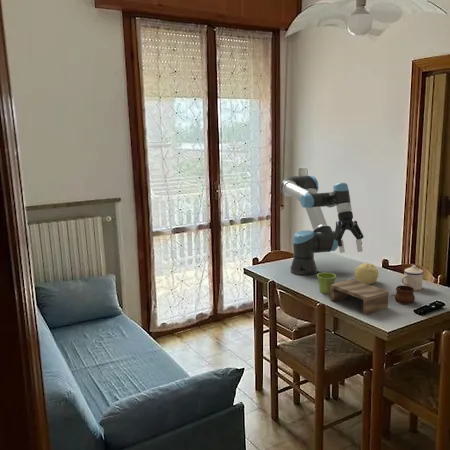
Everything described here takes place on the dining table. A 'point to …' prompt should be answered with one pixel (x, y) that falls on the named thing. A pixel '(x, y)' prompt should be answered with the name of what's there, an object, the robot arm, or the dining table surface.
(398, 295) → the ceramic pot
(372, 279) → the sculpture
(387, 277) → the dining table surface
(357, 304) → the dining table surface
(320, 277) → the plant pot
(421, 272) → the teacup with lid
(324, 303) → the dining table surface
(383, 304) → the walnut shelf
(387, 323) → the dining table surface
